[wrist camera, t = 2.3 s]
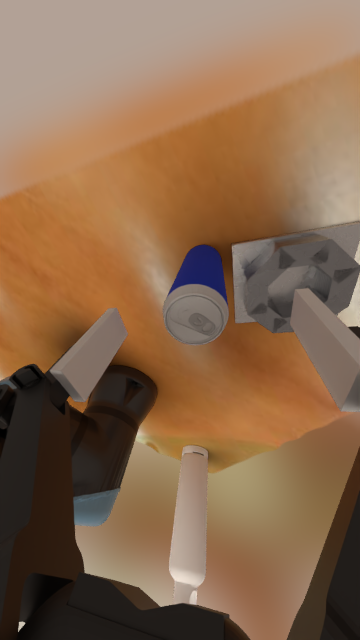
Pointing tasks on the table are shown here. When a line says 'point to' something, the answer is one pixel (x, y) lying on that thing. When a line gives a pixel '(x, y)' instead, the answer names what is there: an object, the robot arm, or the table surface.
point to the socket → (294, 273)
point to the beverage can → (197, 298)
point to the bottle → (190, 526)
